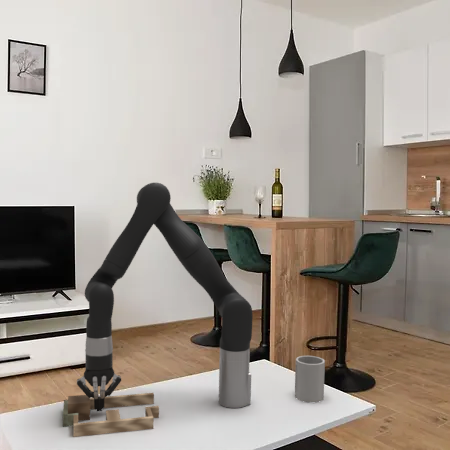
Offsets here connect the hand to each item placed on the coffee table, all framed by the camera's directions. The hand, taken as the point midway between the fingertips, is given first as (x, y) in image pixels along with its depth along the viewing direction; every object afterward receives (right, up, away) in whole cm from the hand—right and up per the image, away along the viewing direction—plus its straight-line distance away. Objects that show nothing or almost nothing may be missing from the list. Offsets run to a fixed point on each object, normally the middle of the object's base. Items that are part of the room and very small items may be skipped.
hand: (99, 410), depth 151 cm
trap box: (+4, -2, -2) cm, 5 cm away
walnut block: (-5, -1, -1) cm, 6 cm away
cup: (+63, -2, +17) cm, 65 cm away
